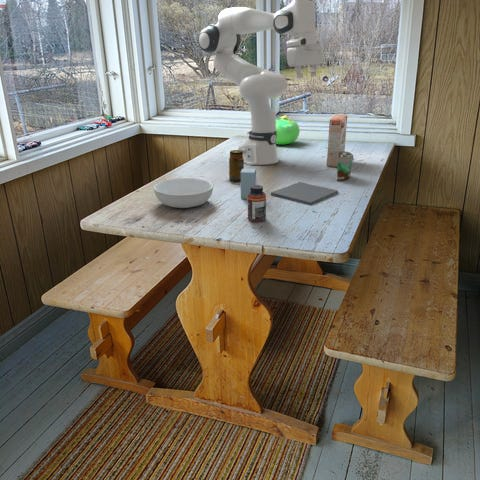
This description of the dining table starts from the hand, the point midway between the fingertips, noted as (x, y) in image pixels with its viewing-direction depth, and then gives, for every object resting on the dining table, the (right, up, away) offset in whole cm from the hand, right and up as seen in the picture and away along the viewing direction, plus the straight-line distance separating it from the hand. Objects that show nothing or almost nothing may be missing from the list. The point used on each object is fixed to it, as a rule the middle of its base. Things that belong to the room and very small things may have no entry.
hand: (306, 77), depth 207 cm
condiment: (-29, -42, +2) cm, 51 cm away
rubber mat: (-3, -49, -17) cm, 52 cm away
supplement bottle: (-22, -60, -40) cm, 76 cm away
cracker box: (+16, -32, +25) cm, 43 cm away
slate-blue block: (-24, -50, -18) cm, 59 cm away
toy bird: (-5, -16, +63) cm, 65 cm away
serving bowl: (-47, -54, -25) cm, 76 cm away
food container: (+16, -41, +2) cm, 44 cm away
